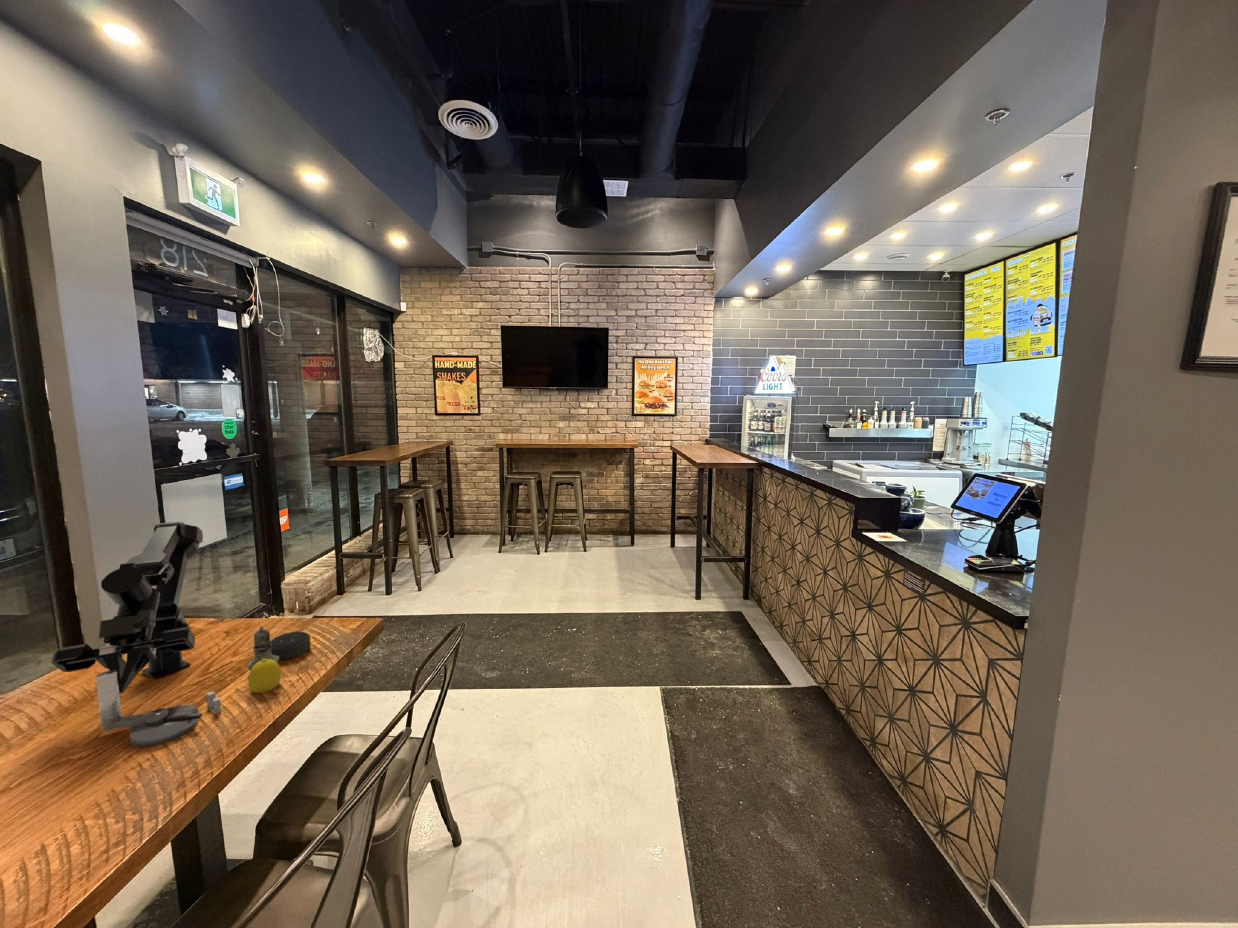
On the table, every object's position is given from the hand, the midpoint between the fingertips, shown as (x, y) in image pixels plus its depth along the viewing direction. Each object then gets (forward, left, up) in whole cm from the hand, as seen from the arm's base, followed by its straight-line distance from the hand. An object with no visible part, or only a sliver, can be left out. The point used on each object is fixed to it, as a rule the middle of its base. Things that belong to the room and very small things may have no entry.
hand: (119, 692), depth 86 cm
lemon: (+12, +18, -8) cm, 23 cm away
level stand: (+9, +2, -8) cm, 12 cm away
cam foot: (+9, +2, -6) cm, 11 cm away
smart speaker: (-2, +31, -8) cm, 32 cm away
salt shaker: (+4, +22, -8) cm, 24 cm away
